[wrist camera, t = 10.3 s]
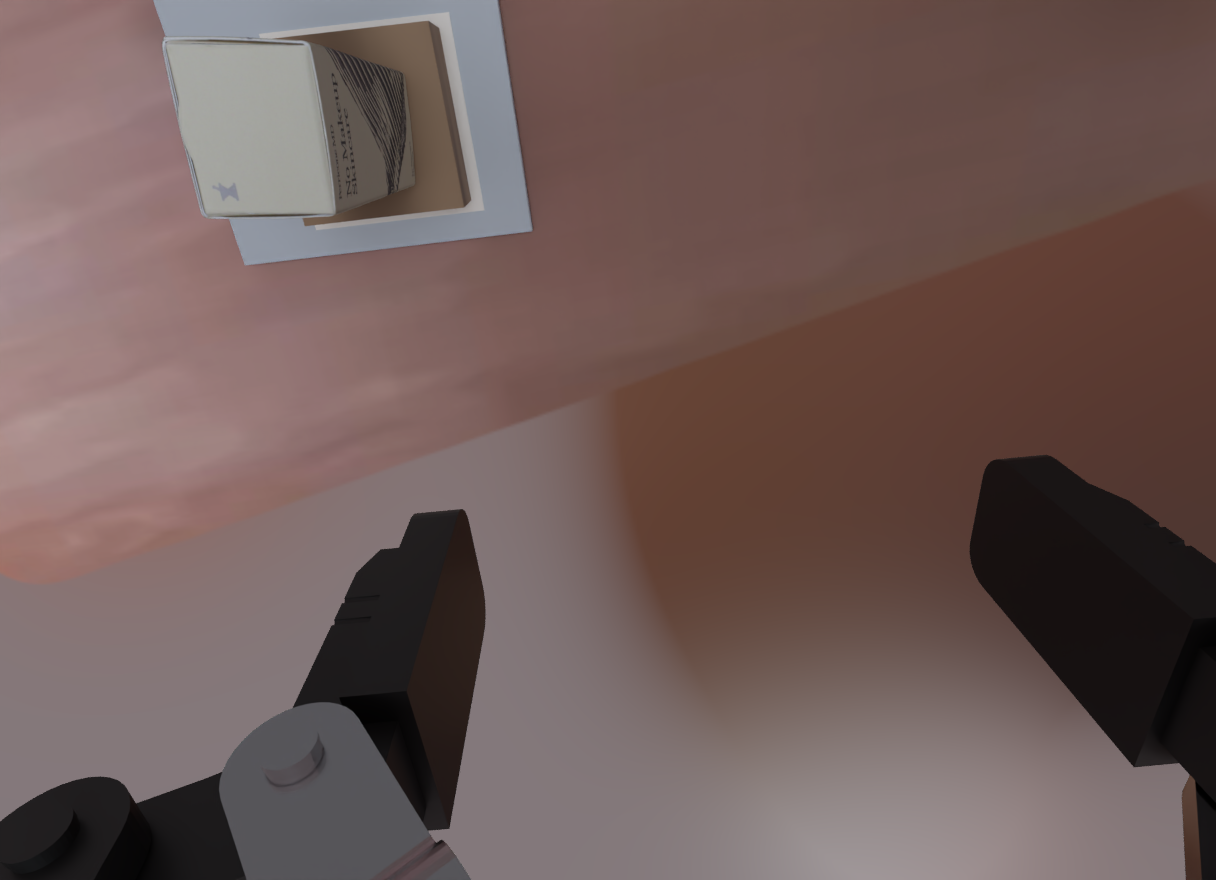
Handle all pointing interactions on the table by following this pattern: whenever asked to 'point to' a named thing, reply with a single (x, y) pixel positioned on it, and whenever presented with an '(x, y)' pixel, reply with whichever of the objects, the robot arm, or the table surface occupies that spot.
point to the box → (287, 126)
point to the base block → (411, 116)
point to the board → (481, 98)
